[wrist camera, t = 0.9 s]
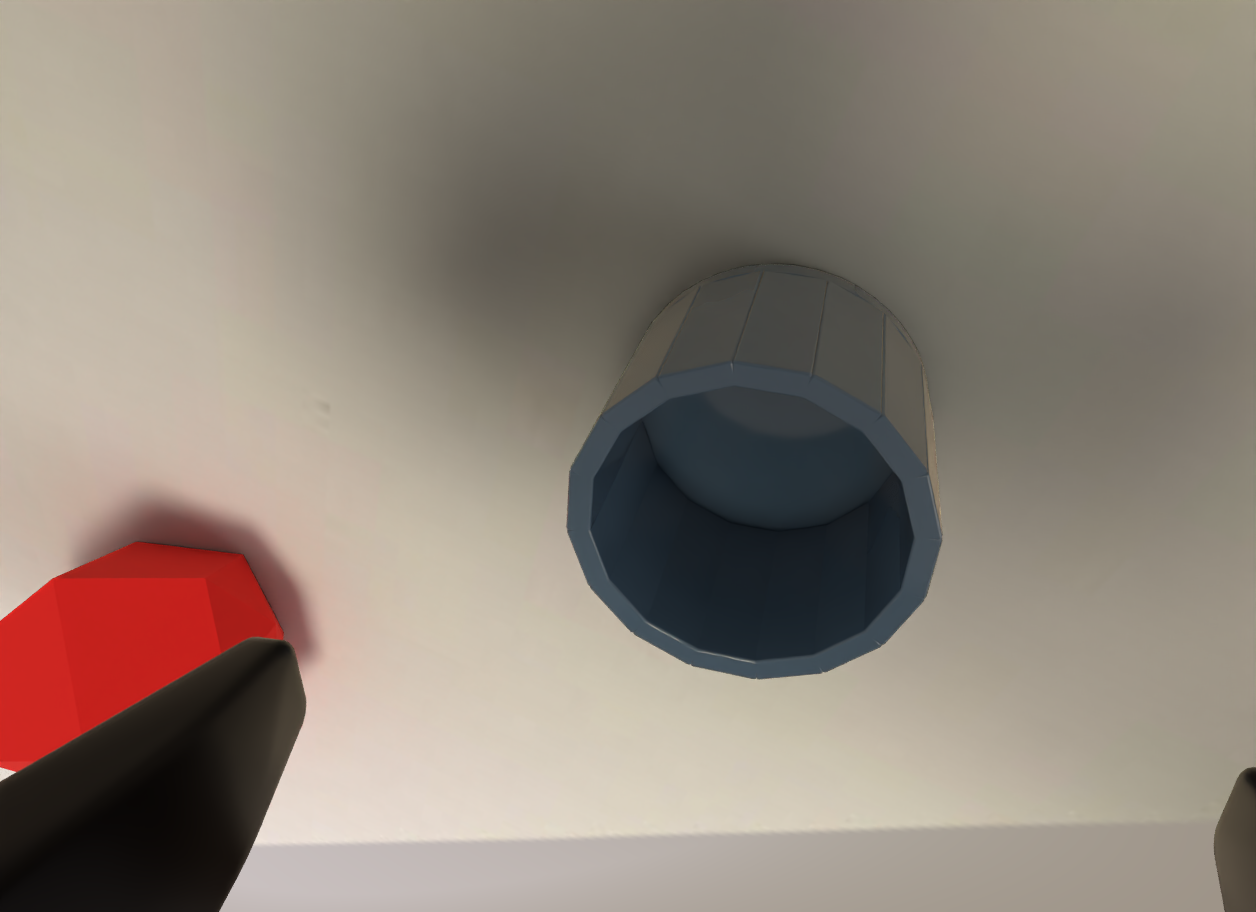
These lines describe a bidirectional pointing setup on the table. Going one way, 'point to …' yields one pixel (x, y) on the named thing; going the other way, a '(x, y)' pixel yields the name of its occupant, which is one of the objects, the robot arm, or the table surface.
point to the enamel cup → (763, 477)
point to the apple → (118, 639)
